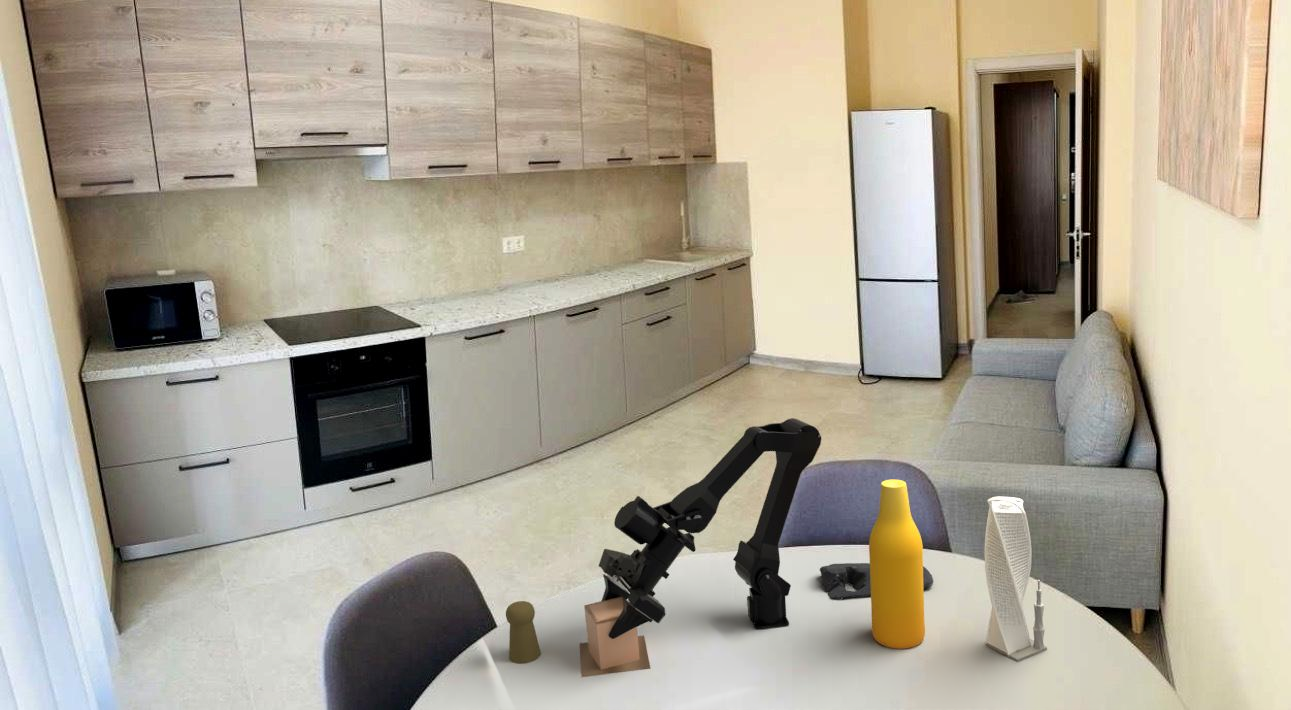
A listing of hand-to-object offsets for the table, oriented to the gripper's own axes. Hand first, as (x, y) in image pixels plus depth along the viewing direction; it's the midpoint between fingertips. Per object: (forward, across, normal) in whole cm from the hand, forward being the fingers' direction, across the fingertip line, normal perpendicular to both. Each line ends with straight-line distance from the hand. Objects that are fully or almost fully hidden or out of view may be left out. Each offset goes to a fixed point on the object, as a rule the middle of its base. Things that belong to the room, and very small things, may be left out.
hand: (603, 628), depth 170 cm
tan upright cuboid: (+3, 0, +5) cm, 6 cm away
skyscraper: (-40, +29, +50) cm, 71 cm away
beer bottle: (-30, +17, +40) cm, 53 cm away
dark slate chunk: (-36, -4, +47) cm, 60 cm away
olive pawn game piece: (+14, -8, -4) cm, 17 cm away
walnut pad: (+4, 0, +6) cm, 7 cm away
